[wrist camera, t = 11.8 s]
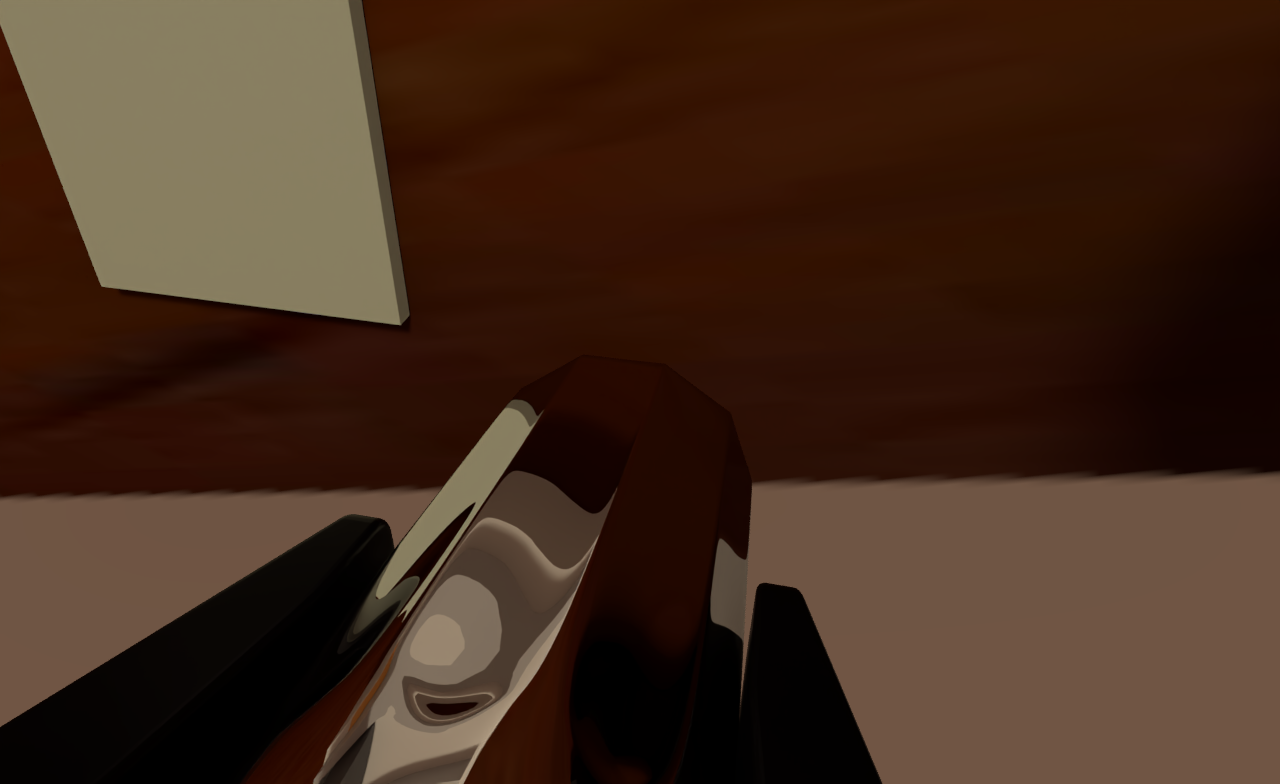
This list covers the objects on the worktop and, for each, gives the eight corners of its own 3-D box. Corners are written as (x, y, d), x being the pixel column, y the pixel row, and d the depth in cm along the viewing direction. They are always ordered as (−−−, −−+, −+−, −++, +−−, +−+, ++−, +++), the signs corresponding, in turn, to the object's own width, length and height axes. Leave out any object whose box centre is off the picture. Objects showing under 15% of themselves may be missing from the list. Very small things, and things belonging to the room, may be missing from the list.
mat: (351, -64, 15) (338, -61, 15) (409, 315, 20) (400, 325, 19) (-19, -84, 16) (-41, -81, 16) (115, 277, 21) (101, 286, 21)
